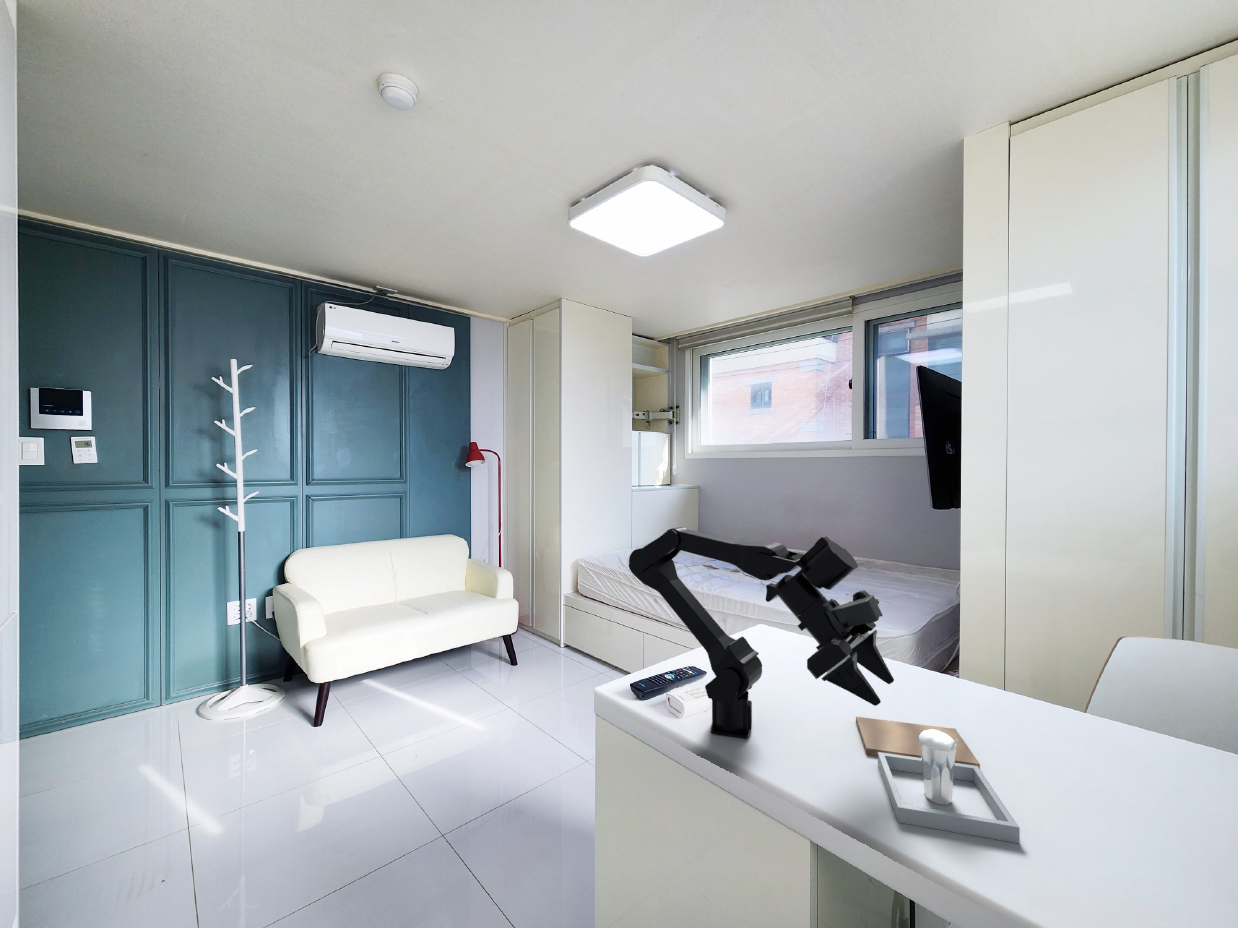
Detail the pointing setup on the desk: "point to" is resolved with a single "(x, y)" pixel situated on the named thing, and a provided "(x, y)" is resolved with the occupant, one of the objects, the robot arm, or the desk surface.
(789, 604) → the robot arm
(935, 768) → the milkshake
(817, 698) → the desk surface
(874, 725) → the board
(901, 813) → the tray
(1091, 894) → the desk surface
